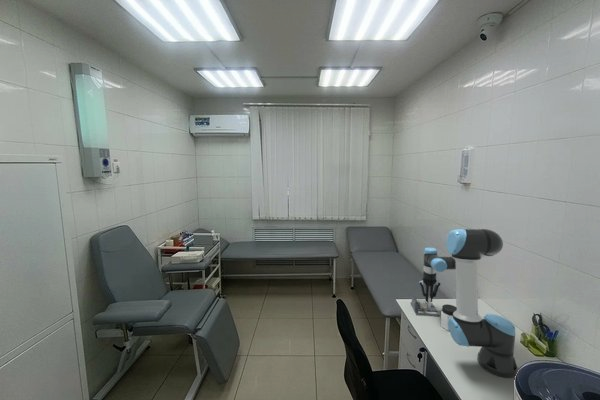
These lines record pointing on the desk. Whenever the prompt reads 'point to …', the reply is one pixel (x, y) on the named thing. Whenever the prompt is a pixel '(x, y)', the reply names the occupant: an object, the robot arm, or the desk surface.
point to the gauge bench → (428, 311)
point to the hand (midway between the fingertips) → (428, 306)
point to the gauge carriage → (422, 304)
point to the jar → (447, 315)
